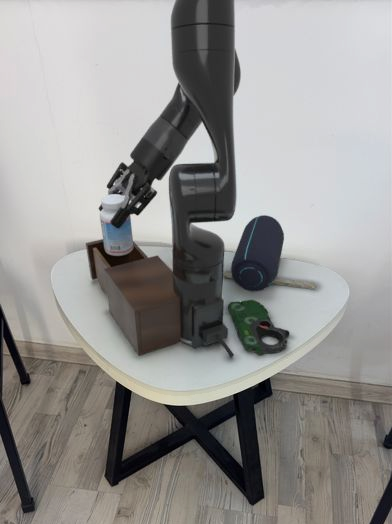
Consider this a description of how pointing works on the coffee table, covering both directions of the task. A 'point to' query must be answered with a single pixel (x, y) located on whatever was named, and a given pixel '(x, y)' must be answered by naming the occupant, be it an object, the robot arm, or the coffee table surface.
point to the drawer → (108, 260)
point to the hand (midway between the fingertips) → (108, 218)
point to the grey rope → (285, 282)
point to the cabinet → (144, 303)
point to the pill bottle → (114, 238)
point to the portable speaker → (258, 254)
